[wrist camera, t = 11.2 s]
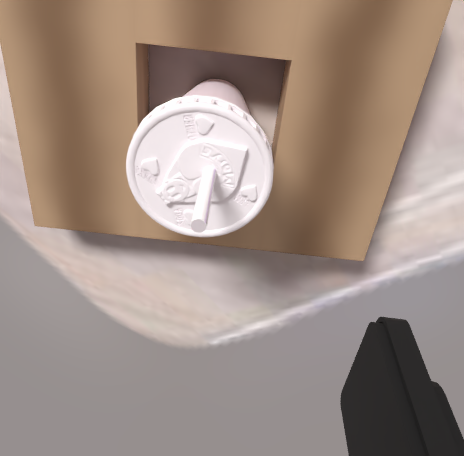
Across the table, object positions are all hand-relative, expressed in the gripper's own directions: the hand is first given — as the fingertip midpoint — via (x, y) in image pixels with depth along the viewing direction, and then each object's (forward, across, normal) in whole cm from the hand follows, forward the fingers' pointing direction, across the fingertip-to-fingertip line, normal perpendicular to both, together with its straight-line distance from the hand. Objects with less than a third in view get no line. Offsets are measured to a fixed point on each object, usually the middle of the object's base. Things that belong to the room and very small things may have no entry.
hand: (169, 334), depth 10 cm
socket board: (+19, +1, +1) cm, 19 cm away
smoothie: (+19, +1, 0) cm, 19 cm away
